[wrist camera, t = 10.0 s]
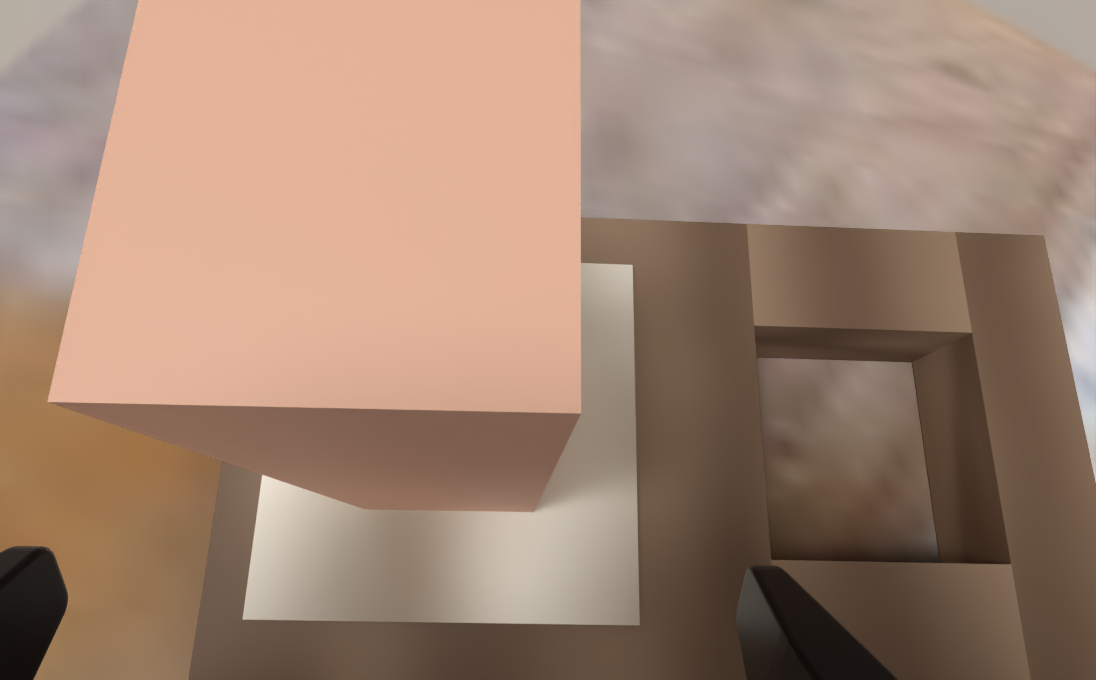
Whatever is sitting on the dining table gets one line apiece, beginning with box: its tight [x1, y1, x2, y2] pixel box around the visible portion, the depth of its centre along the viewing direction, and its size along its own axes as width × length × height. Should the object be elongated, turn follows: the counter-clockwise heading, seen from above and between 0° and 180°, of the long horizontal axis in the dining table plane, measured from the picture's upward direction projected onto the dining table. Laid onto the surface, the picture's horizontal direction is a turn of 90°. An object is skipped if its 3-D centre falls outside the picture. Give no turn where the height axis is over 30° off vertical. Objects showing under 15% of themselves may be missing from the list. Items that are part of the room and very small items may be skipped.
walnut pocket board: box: [189, 218, 1096, 680], centre depth 19 cm, size 22×12×3 cm, turn 89°
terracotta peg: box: [48, 0, 581, 512], centre depth 12 cm, size 4×4×12 cm
